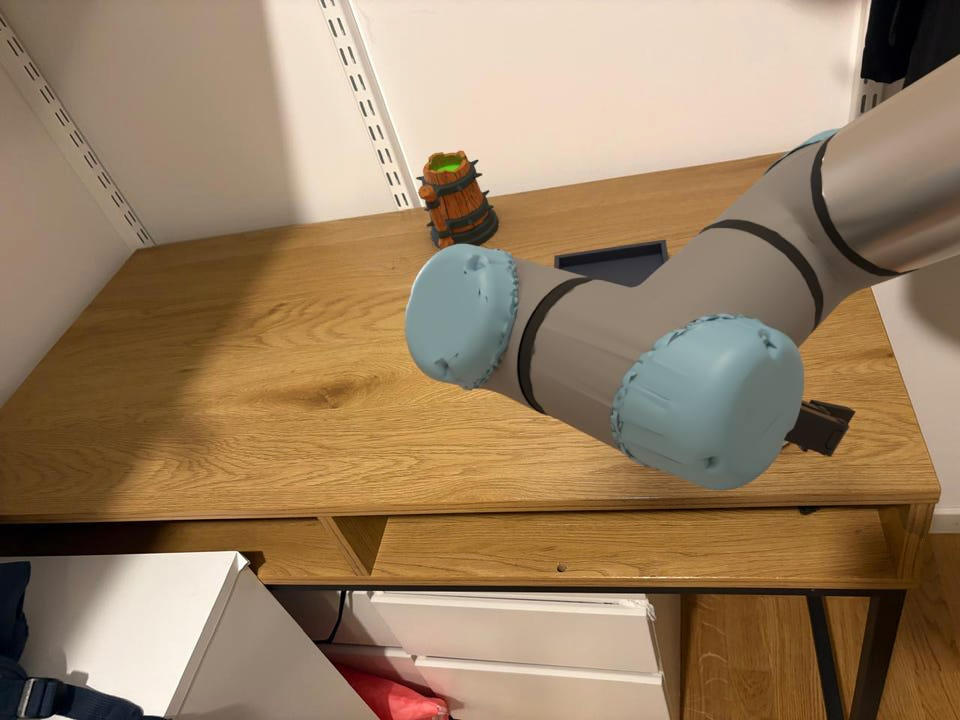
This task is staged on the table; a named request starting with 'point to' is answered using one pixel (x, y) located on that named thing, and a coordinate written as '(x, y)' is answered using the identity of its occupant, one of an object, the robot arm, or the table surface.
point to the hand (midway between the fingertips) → (770, 382)
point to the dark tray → (617, 262)
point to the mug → (456, 201)
